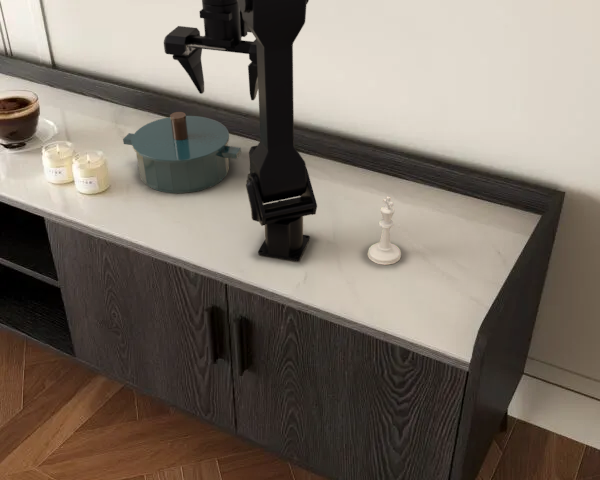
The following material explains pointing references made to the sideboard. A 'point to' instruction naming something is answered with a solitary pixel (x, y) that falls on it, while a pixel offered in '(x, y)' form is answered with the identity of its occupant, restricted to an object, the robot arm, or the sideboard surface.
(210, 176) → the pot
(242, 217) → the sideboard surface
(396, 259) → the chess piece
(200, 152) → the lid
